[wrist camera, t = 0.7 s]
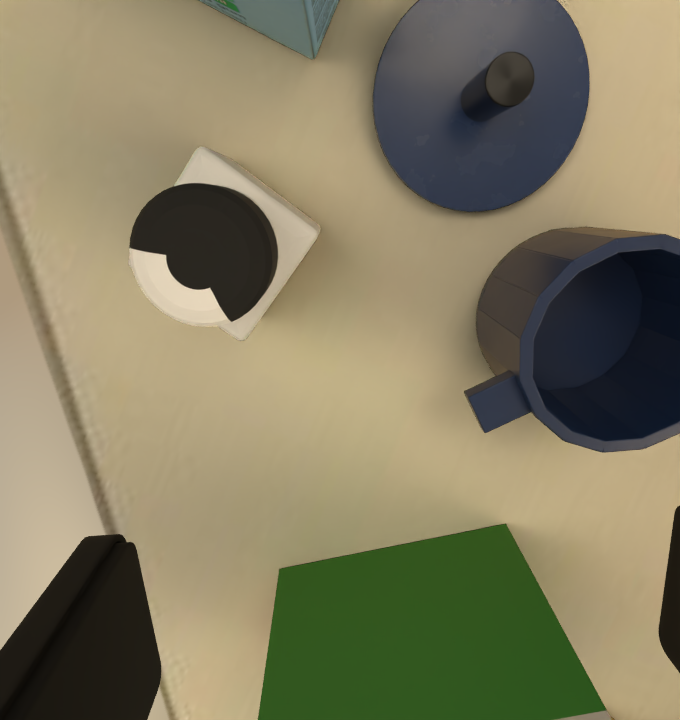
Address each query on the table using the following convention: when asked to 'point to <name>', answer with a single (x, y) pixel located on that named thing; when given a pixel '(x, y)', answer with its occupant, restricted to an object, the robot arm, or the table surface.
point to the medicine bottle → (218, 245)
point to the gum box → (283, 20)
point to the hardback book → (422, 638)
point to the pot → (584, 337)
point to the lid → (480, 99)
